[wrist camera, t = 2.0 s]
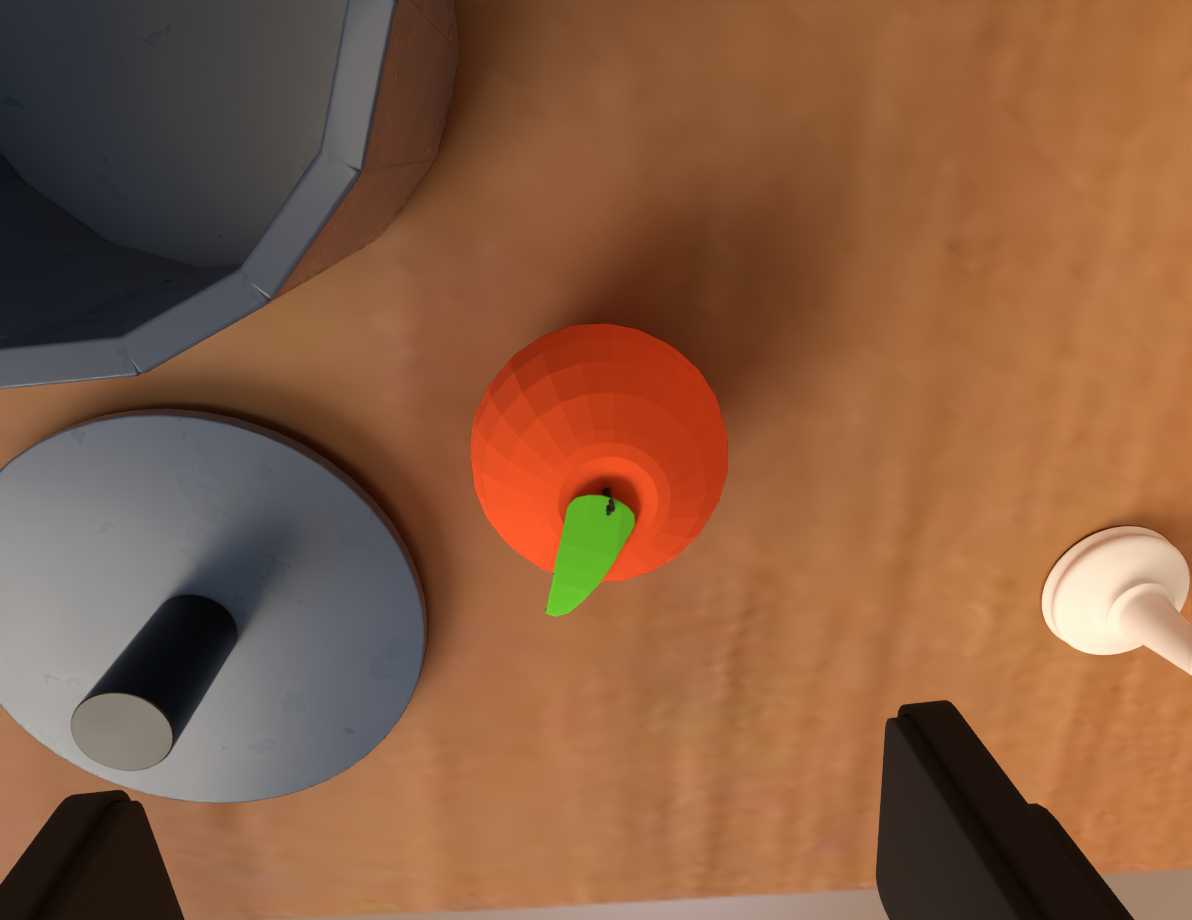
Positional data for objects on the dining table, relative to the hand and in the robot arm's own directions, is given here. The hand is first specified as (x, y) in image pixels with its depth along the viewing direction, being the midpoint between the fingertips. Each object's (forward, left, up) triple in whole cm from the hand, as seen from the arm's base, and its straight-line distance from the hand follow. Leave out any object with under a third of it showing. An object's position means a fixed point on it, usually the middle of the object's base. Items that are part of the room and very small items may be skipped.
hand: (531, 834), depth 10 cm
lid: (+11, +5, -15) cm, 20 cm away
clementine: (-2, 0, -16) cm, 16 cm away
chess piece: (-20, +8, -16) cm, 27 cm away
